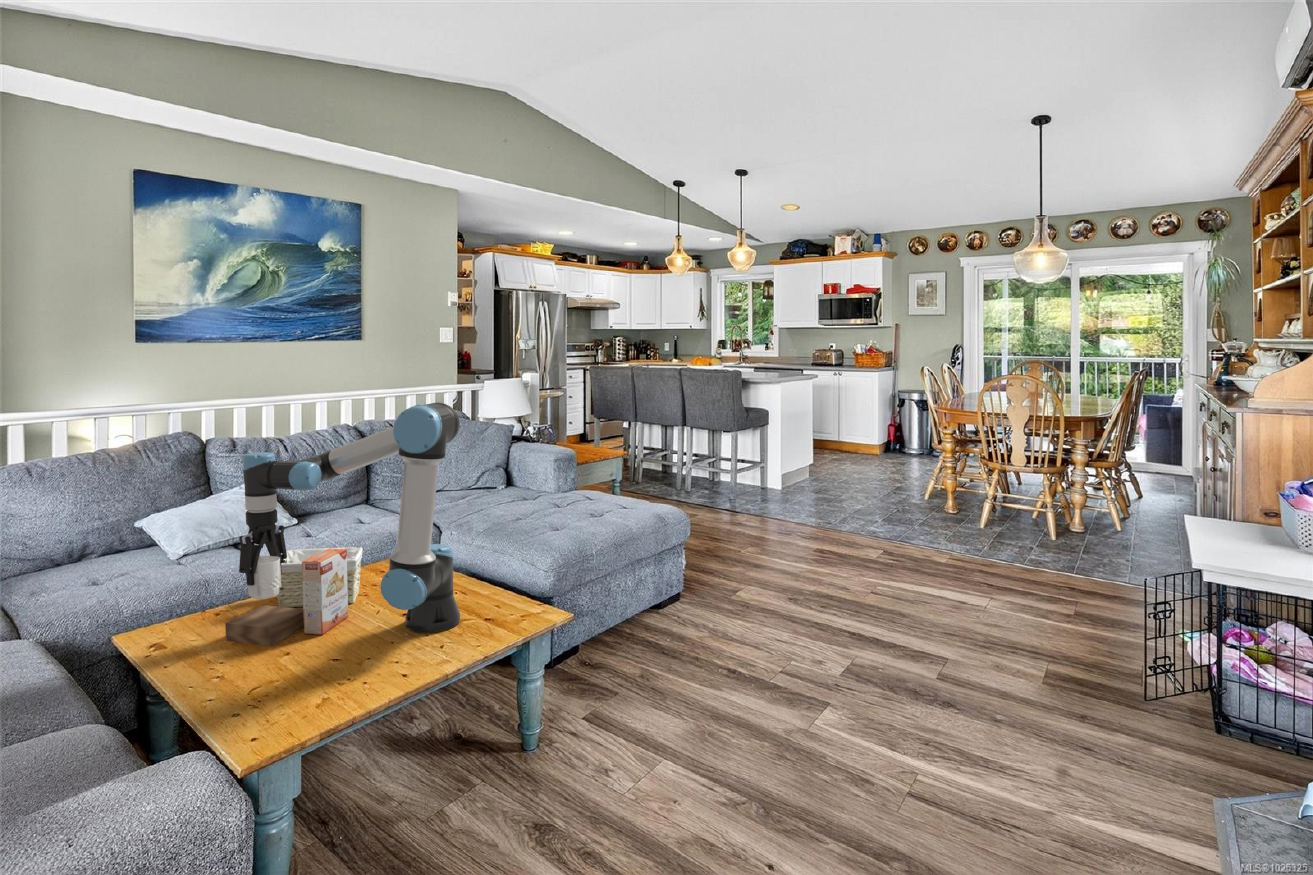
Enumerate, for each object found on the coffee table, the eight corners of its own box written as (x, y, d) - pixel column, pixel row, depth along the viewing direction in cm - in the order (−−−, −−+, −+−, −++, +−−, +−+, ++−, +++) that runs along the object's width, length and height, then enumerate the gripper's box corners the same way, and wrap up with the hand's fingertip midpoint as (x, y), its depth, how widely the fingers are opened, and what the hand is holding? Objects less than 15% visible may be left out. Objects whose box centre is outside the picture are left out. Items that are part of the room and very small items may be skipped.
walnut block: (307, 626, 203) (306, 609, 202) (271, 646, 189) (270, 628, 189) (264, 622, 206) (263, 605, 205) (226, 641, 192) (225, 623, 191)
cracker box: (324, 635, 196) (320, 562, 194) (303, 634, 197) (299, 561, 194) (350, 617, 210) (347, 548, 208) (330, 616, 211) (327, 547, 208)
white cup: (248, 601, 191) (246, 565, 190) (249, 592, 198) (247, 557, 197) (281, 597, 194) (279, 561, 193) (281, 588, 201) (280, 554, 200)
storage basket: (365, 588, 236) (363, 545, 234) (358, 605, 220) (356, 559, 218) (285, 594, 229) (283, 549, 228) (272, 611, 214) (270, 564, 212)
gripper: (276, 501, 204) (280, 578, 207) (219, 517, 184) (224, 602, 187) (299, 502, 202) (303, 580, 205) (244, 519, 182) (248, 605, 185)
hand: (265, 591), depth 196 cm, fingers closed on white cup, 8 cm apart
